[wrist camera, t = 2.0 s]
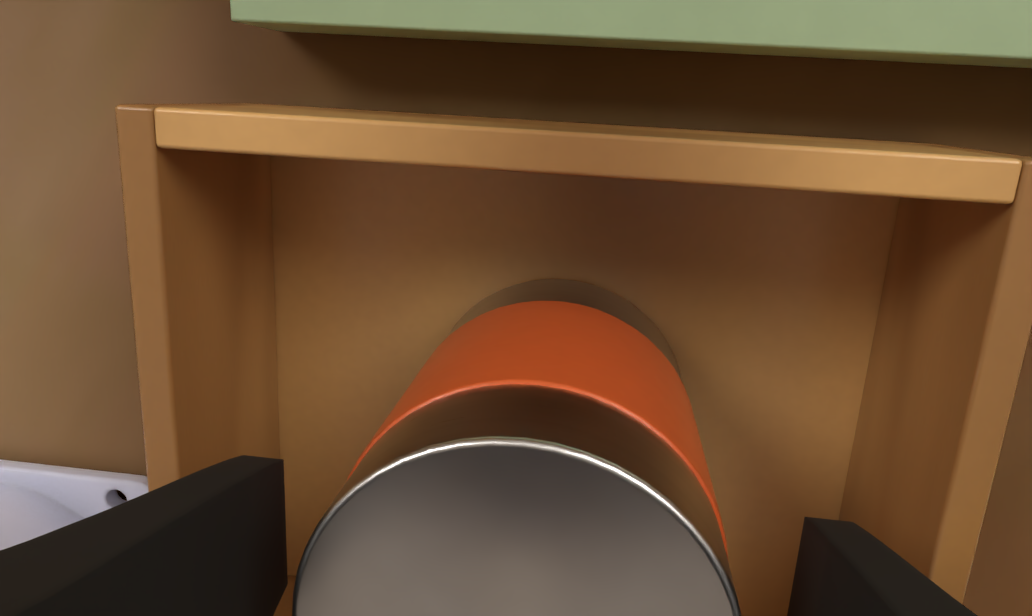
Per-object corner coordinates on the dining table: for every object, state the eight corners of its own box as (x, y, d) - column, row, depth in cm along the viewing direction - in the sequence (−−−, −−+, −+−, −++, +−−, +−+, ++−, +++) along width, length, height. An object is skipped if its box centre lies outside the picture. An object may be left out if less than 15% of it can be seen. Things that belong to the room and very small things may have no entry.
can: (428, 499, 17) (290, 800, 10) (433, 265, 15) (277, 411, 8) (670, 526, 16) (718, 867, 9) (700, 286, 15) (786, 463, 8)
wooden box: (270, 579, 18) (166, 726, 14) (252, 103, 15) (111, 103, 11) (832, 649, 17) (906, 835, 13) (932, 143, 14) (1076, 162, 10)
